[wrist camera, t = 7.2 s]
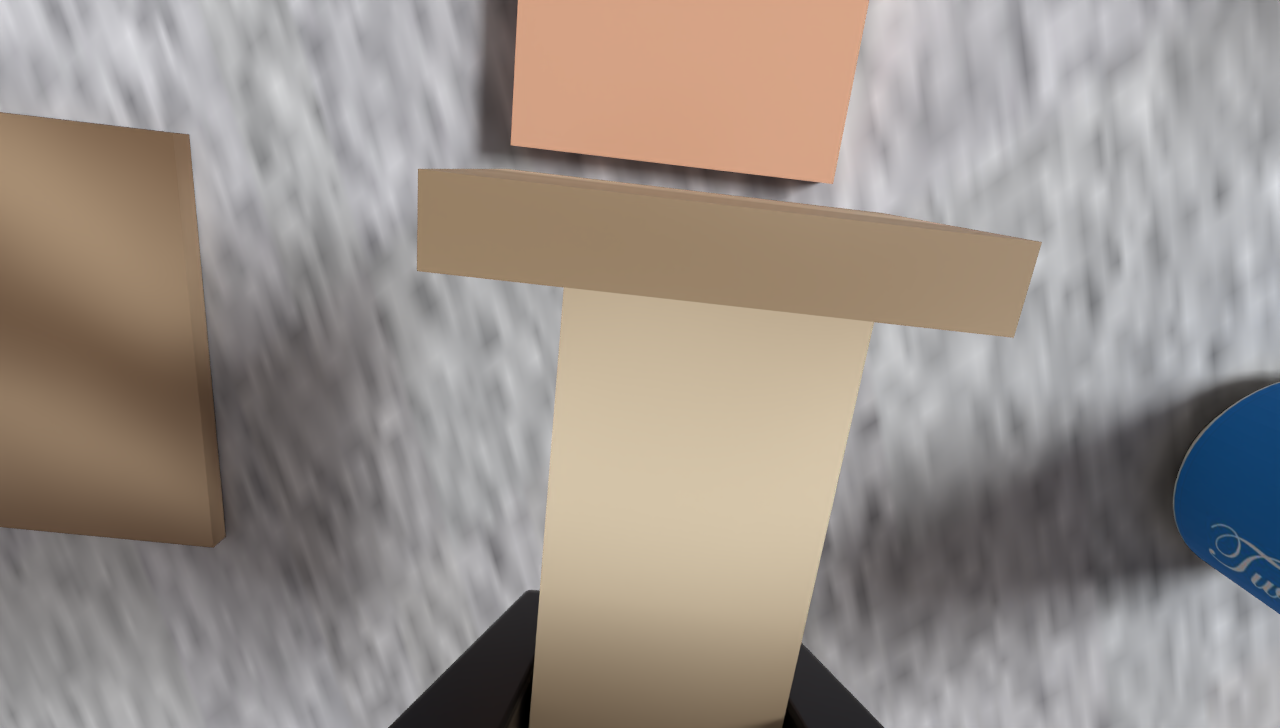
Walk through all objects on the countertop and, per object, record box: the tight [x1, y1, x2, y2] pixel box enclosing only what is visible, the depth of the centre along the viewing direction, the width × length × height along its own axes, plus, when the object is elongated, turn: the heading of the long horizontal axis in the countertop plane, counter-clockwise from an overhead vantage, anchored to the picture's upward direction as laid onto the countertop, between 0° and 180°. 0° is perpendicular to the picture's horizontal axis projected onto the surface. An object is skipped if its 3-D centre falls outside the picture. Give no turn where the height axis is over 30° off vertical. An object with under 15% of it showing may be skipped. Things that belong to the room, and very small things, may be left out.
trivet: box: [0, 112, 226, 548], centre depth 18 cm, size 12×9×1 cm
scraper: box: [417, 169, 1042, 728], centre depth 8 cm, size 11×5×4 cm, turn 174°
